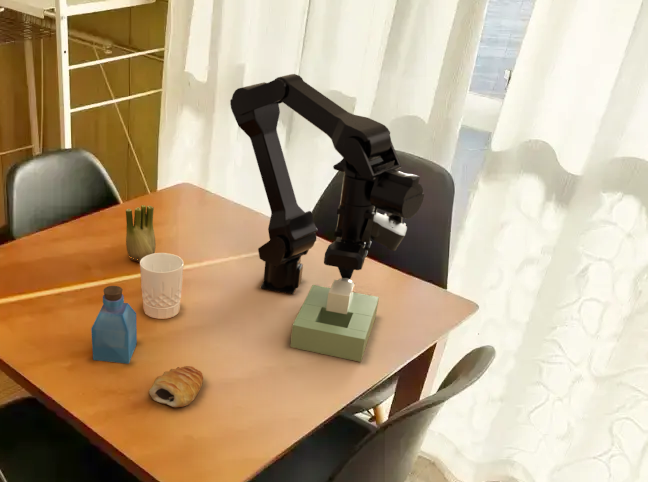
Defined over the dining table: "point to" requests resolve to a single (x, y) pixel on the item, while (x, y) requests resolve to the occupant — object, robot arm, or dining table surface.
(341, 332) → the stand
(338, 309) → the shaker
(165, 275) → the white cup
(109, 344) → the perfume bottle
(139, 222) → the fennel bulb
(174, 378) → the pastry
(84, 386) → the dining table surface
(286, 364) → the dining table surface
